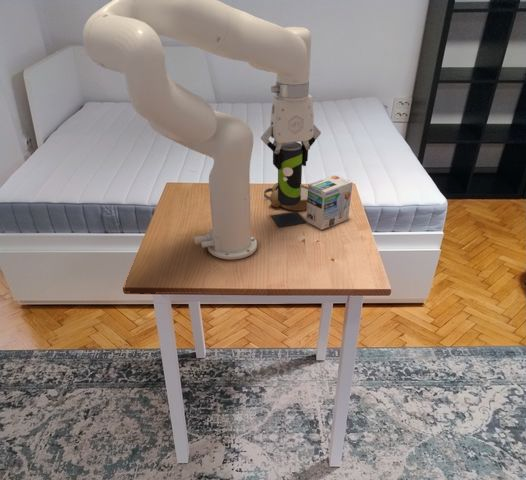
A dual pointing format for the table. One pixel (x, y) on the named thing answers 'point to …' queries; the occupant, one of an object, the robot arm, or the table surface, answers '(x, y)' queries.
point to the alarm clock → (274, 201)
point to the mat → (288, 219)
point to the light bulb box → (328, 201)
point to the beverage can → (290, 174)
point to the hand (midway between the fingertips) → (290, 165)
